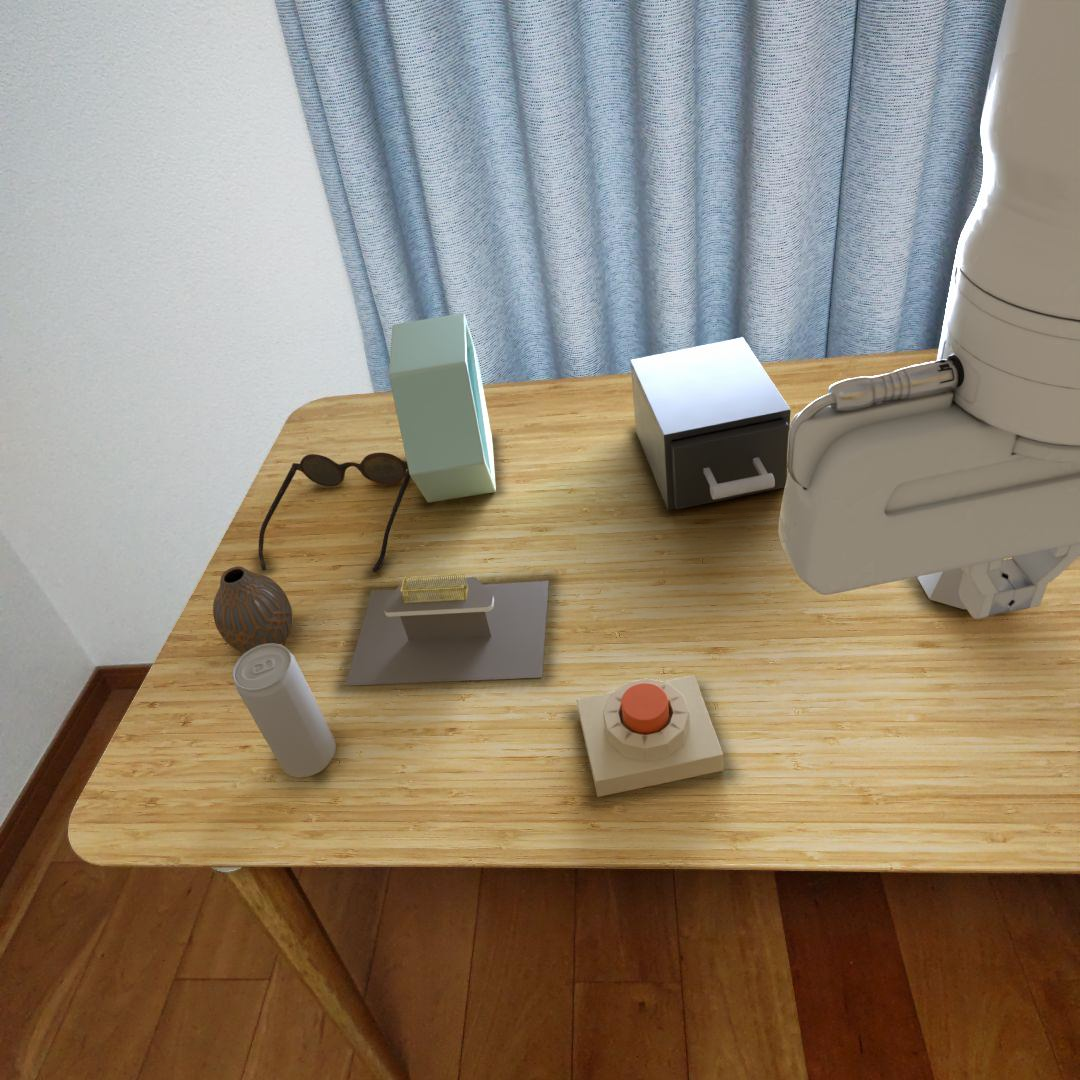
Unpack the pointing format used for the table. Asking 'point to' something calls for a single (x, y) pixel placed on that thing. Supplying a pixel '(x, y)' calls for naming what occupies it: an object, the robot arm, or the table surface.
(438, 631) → the platform
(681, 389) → the single drawer cabinet
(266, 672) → the beverage can
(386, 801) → the table surface
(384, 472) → the eyeglasses
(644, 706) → the button
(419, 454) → the planter
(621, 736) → the block
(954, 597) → the flask
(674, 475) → the cabinet drawer
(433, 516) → the table surface
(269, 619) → the vase
